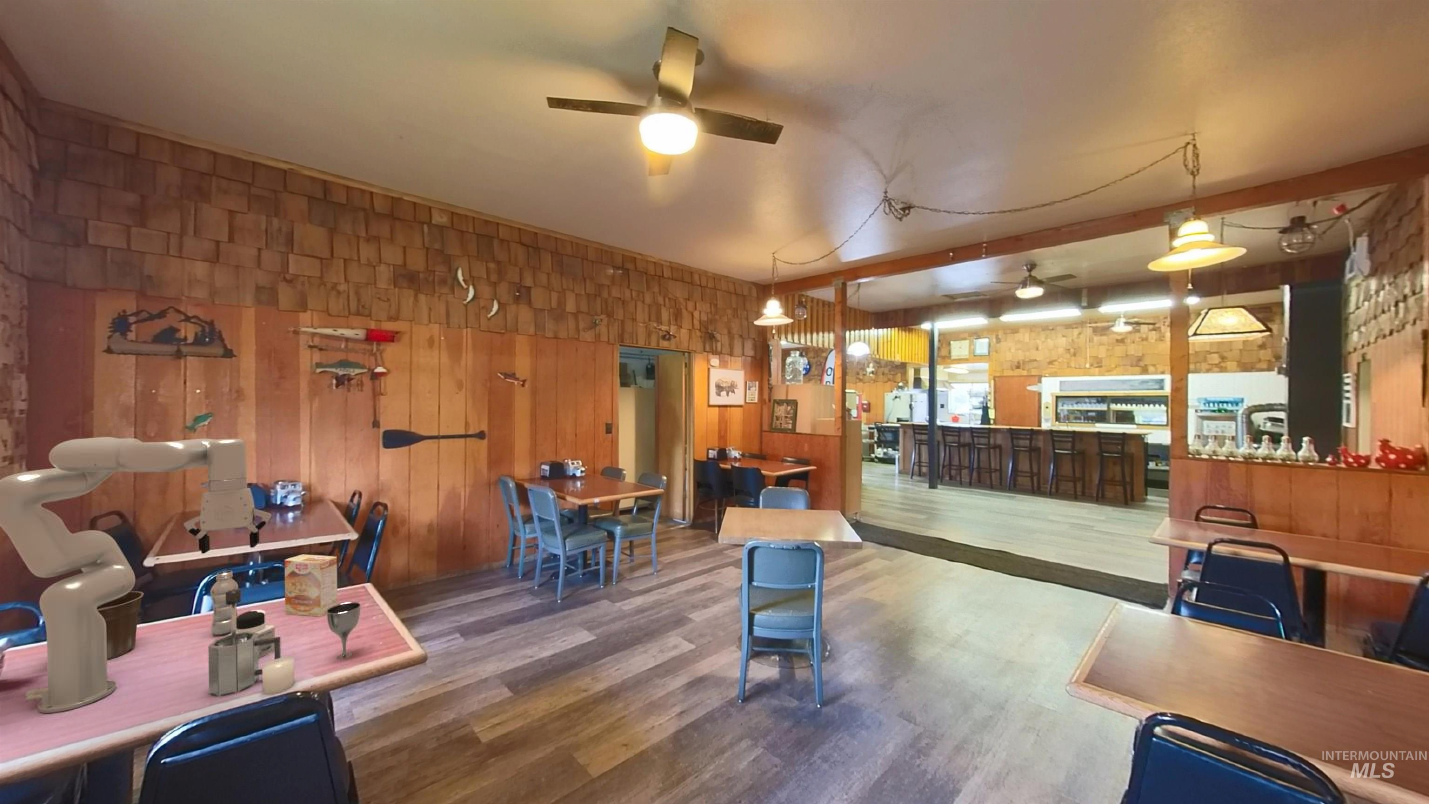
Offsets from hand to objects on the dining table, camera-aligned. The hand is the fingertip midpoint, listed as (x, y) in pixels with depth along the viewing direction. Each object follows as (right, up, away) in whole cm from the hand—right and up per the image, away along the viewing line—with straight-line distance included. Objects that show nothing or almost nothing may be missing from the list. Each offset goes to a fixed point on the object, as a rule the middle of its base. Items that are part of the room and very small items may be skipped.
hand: (230, 549), depth 136 cm
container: (-9, -37, +17) cm, 42 cm away
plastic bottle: (-31, -37, +31) cm, 57 cm away
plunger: (+2, -27, -1) cm, 27 cm away
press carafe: (+4, -37, +1) cm, 37 cm away
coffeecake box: (-16, -37, +48) cm, 62 cm away
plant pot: (-54, -37, +17) cm, 68 cm away
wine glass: (+19, -37, +15) cm, 44 cm away
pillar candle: (+14, -37, -1) cm, 39 cm away
